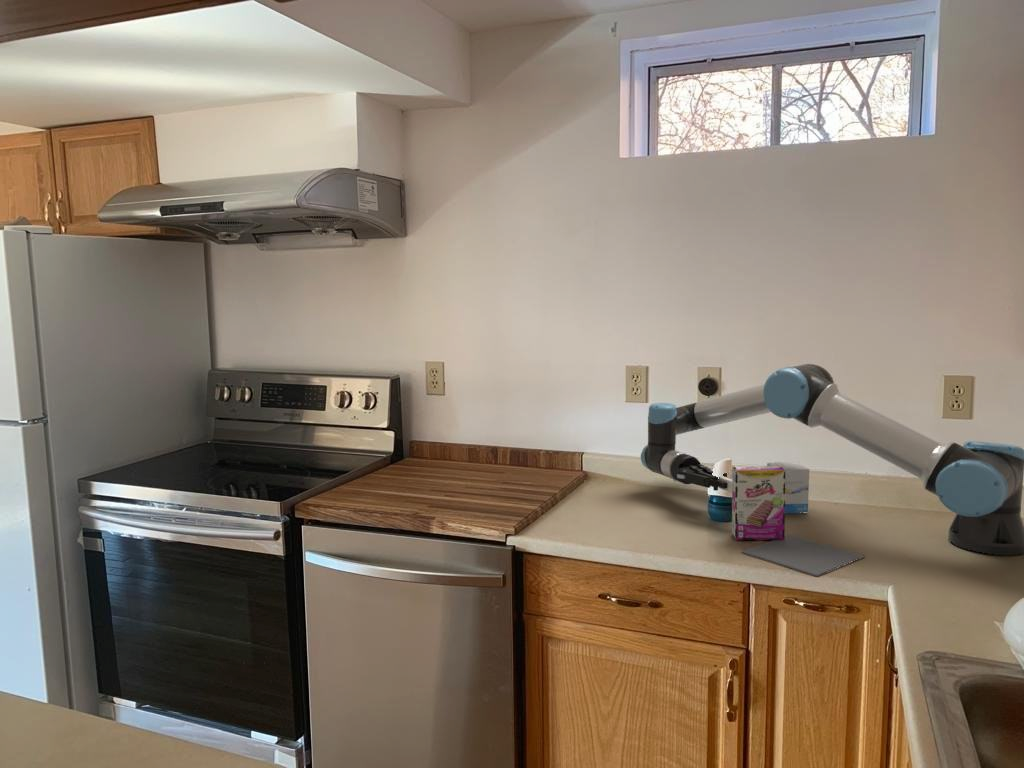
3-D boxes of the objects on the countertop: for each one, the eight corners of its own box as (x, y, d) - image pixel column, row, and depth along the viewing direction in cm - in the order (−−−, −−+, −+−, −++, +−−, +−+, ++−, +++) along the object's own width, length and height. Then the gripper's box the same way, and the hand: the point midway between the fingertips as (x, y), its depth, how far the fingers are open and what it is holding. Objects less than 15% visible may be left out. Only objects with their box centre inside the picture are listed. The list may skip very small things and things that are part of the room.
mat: (864, 557, 165) (864, 555, 165) (817, 576, 154) (817, 575, 154) (789, 536, 179) (789, 534, 179) (741, 552, 168) (741, 551, 168)
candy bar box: (735, 541, 176) (734, 469, 174) (731, 534, 181) (730, 465, 179) (786, 540, 175) (786, 469, 173) (780, 534, 180) (780, 464, 178)
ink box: (808, 513, 197) (810, 469, 195) (775, 514, 197) (776, 469, 196) (797, 504, 205) (798, 461, 204) (764, 504, 206) (766, 461, 204)
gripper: (701, 478, 208) (760, 500, 186) (660, 483, 203) (715, 507, 181) (702, 451, 207) (761, 470, 185) (660, 455, 202) (716, 475, 180)
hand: (738, 488), depth 183 cm, fingers closed
